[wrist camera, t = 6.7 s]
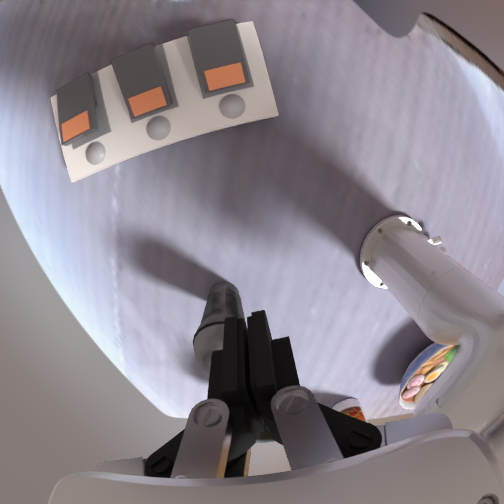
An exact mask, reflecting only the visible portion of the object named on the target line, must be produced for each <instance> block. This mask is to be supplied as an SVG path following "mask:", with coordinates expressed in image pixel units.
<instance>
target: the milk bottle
mask: <svg viewBox="0 0 504 504" xmlns="http://www.w3.org/2000/svg"><path fill="white" fill-rule="evenodd" d="M332 409H334V410H336V411H339V412H341V413H344V414H346V415H349V416H352V417H354V418H357V419H359V420H362V421H365V422H367V419H366V416H365V414H364V411H363V409H362V406H361V404H360V402H359V401H358V400H357V399H352V398H351V399H346V400H343V401H340V402H338V403H337V404H335V405H334V406H333V407H332Z"/></svg>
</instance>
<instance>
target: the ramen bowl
mask: <svg viewBox="0 0 504 504" xmlns="http://www.w3.org/2000/svg"><path fill="white" fill-rule="evenodd" d="M459 348H460V345H442V344H438V343H436V342H435V343H433V344H431V345H429V346H428V347H427V348H426V349H424V350H423V351H422V352H421V353H419V354H418V356H417V357H416V358H415V359H414V360H413V361H412V362H411V363H410V365H409V366H408V368H407V370H406V372H405V374H404V375H403V378H402V381H401V386H400V393H399V405H400V406H401V407H402V408H403V409H412V410H414V409H415V407H416V405H417V403H418V401H419V400H420V398H421V397H422V396H423V395H424V394H425V392H426V391H427V390H428V389H429V388H430V386H431V385H432V384H433V383H434V382H435V381H436V379H437V378H438V377H439V376H440V375H441V373H442V372H443V371H444V370H445V369H446V367H447V366H448V365H449V363H450V362H451V361H452V359H453V358H454V356H455V355H456V353H457V352H458V350H459Z"/></svg>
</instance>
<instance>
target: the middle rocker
mask: <svg viewBox="0 0 504 504" xmlns="http://www.w3.org/2000/svg"><path fill="white" fill-rule="evenodd" d="M110 61H111V64H112V67H113V70H114V73H115V76H116V79H117V81H118V84H119V87H120V90H121V92H122V95H123V98H124V101H125V103H126V106H127V108H128V111H129V114H130V116H131V119H134V118H137V117H139V116H142V115H145V114H147V113H150V112H153V111H155V110H158V109H161V108H164V107H167V106H170V105H172V103H173V101H172V98H171V95H170V92H169V89H168V86H167V83H166V80H165V77H164V73H163V70H162V67H161V64H160V61H159V58H158V55H157V51H156V48H155V45H154V43H150V44H148V45H145V46H143V47H140V48H137V49H135V50H133V51H130V52H128V53H125V54H123V55H121V56H119V57H116V58H114V59H112V60H110Z"/></svg>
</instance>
